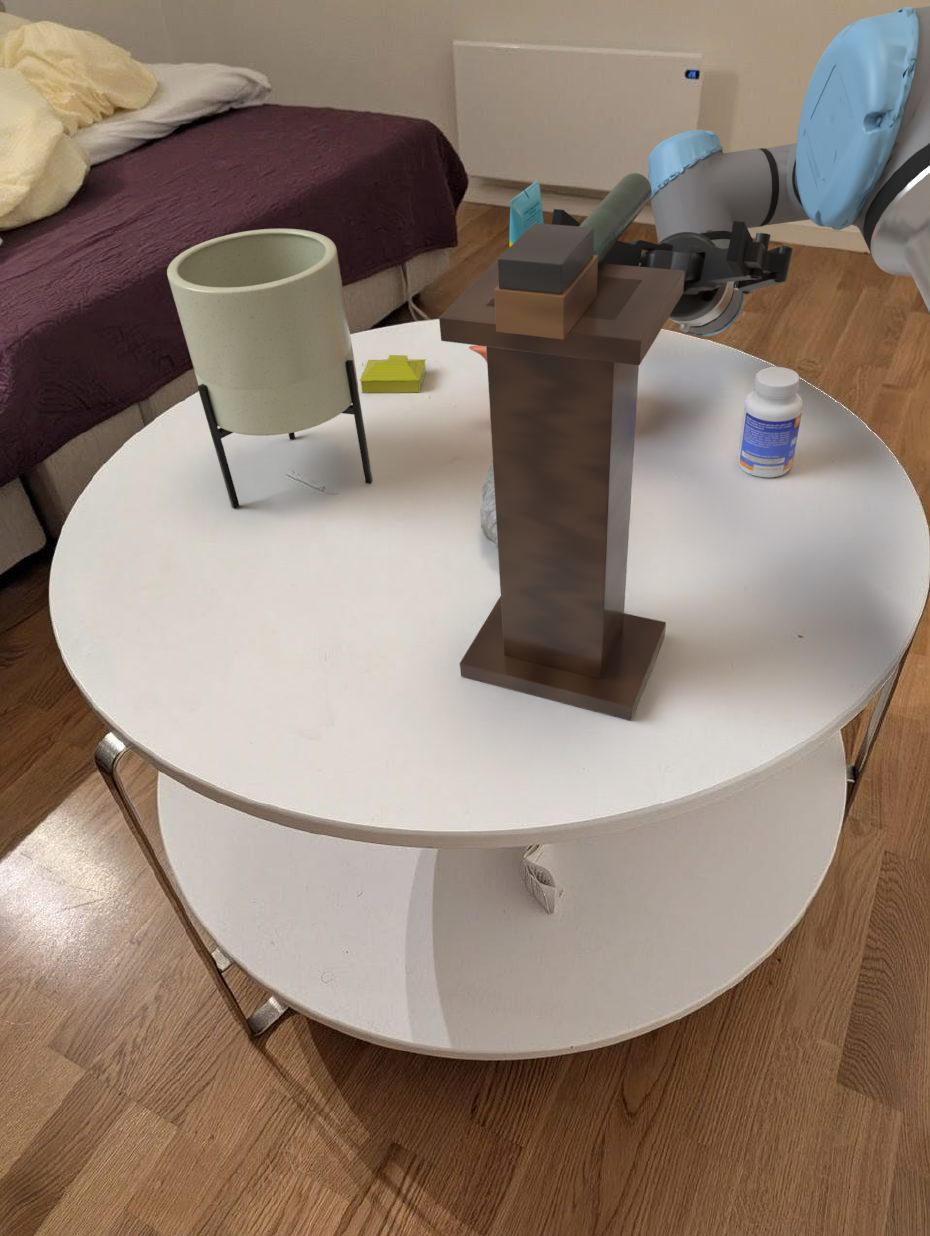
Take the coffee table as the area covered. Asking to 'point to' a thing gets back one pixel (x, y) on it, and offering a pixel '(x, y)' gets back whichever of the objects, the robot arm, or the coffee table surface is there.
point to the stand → (566, 492)
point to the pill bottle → (770, 423)
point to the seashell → (489, 508)
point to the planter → (267, 335)
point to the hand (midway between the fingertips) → (642, 234)
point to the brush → (562, 265)
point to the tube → (525, 211)
